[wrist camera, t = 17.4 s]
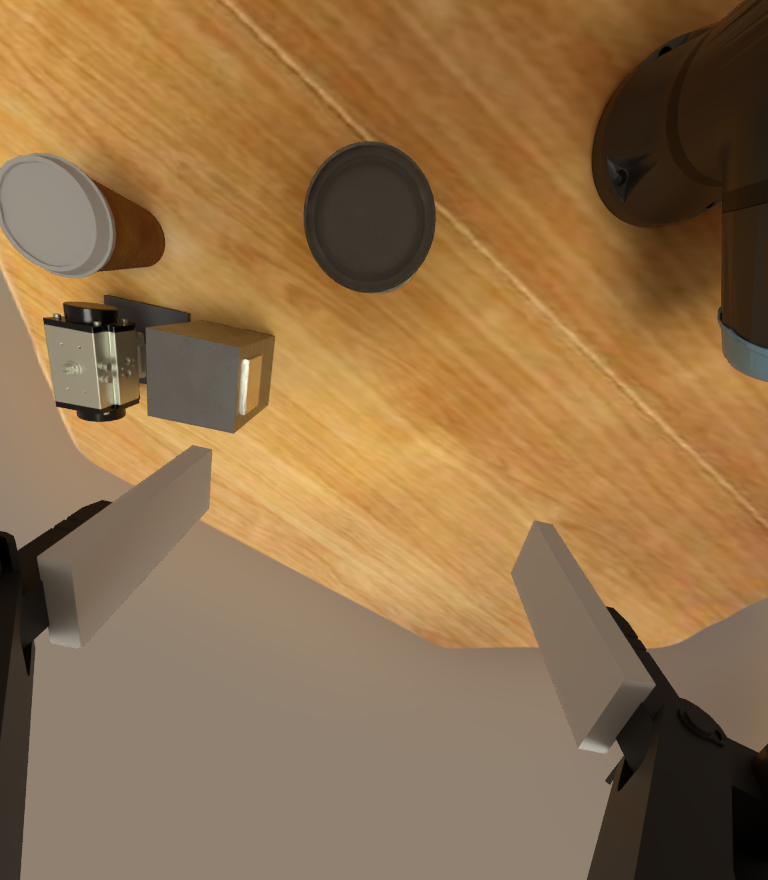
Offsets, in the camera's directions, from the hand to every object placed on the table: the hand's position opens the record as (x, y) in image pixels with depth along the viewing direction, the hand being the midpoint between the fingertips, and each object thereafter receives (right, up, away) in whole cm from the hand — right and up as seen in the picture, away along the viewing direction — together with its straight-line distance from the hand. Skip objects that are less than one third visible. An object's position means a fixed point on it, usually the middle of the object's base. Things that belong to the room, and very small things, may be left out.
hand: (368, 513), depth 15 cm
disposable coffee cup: (-28, +26, +28) cm, 47 cm away
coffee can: (0, +25, +27) cm, 37 cm away
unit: (-18, +13, +32) cm, 39 cm away
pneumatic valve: (-29, +14, +32) cm, 45 cm away
